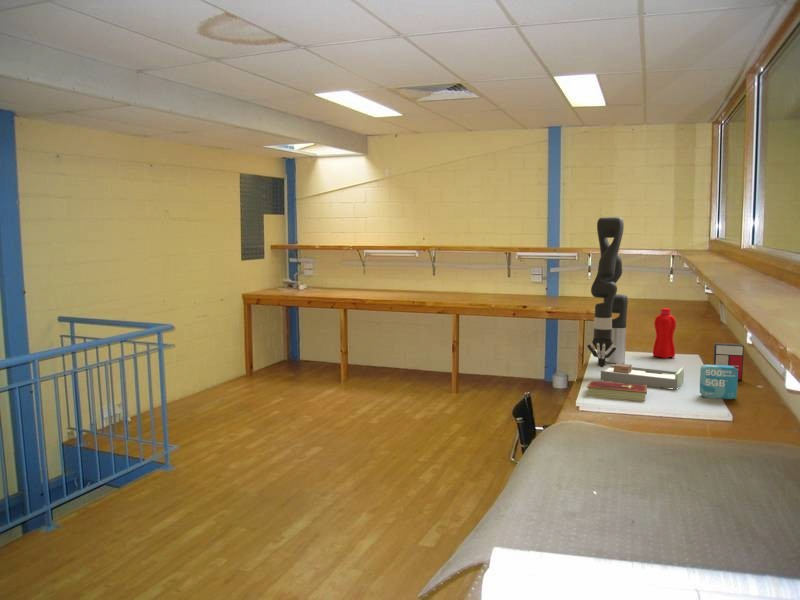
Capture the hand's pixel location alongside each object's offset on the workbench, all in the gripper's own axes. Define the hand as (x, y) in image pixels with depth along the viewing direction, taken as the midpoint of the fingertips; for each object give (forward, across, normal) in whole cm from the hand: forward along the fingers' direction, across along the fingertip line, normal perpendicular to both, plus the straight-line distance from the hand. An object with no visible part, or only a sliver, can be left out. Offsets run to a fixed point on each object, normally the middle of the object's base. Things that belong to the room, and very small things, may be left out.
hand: (601, 366), depth 272 cm
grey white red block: (+4, -47, -25) cm, 53 cm away
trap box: (+4, -17, 0) cm, 17 cm away
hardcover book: (+5, -14, +30) cm, 34 cm away
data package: (+4, -47, +13) cm, 49 cm away
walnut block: (+1, -9, 0) cm, 9 cm away
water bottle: (+4, -14, -65) cm, 67 cm away
